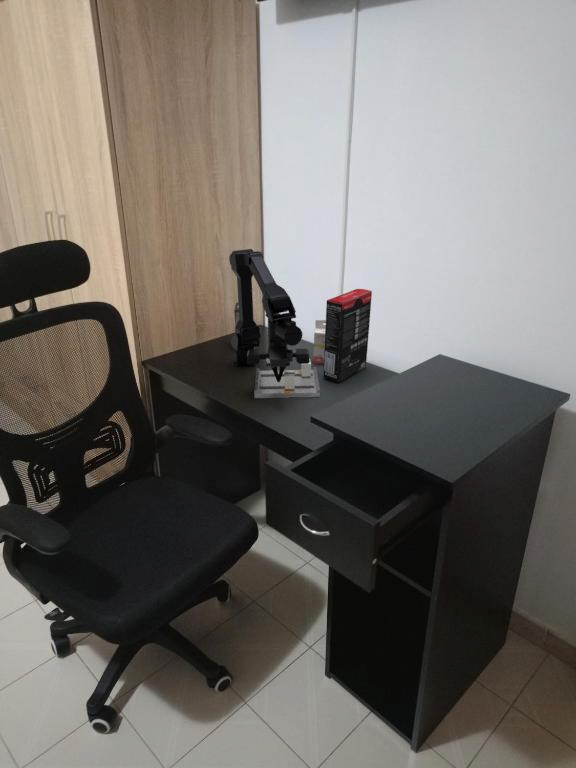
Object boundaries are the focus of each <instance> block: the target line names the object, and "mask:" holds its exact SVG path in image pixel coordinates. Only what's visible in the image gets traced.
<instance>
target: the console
mask: <svg viewBox="0 0 576 768" xmlns="http://www.w3.org/2000/svg"><path fill="white" fill-rule="evenodd" d="M312 368H313V369H311V376H303V377H302V374H301V369H291V370H290V369H285V370H284V372H285V371H294V372H295V374H294V375H295V389H285V374H284V372H283V374H282V377H281V380H280V382H277V380H276V377H275V375H274V372H273V370H272V369H271V370H270V369H269V370H260V367H256V368H255V378H254V379H255V380H254V390H253V391H254V392H253V393H254V399H276V398H277V399H279V398H282V399H283V398H284V399H285V398H288V399H289V397H293V398H321V397H320V395H321V388H320V382H319V376H318V375H319V374H318V368H317V366H313V367H312ZM278 375H279V369H278Z"/></svg>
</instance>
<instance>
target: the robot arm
mask: <svg viewBox="0 0 576 768" xmlns="http://www.w3.org/2000/svg"><path fill="white" fill-rule="evenodd" d="M228 259H229V260H228V261H229V265H230V268H231V271H232V272H233V273H234V275H235V277H236V283H237V302H238V306H239V321H238V323H237V324H236V326H235V325H234V334H233V336H232V338H231V340H230V344H231V347H232V348H233V349H234V350H235V352H236V354H235V355H236V367H255V366H256V365H259V364H260V362H261V361H262V360H265V361H266V363H265V365H266V367H270V368H271V370H273V372H274V375H275V377H276V380H277V382H280V380H281V377H282V374H283V372H284V370H286V368H287V367H290V366H291V363H292V362H293V361H294V360H296V363H298V364H299V365H301V364H308V363H309V359H310V352H309V349H307V348H295V352H293V349H288V346H291V347H293V346H296V345H298V344H299V343H300V342H301V341H302V338H303V332H302V329H301V327H299V326H297V321H295V320H292V319H296V318H297V315H296V313H297V312H296V308H295V306H294V304H293V302H292V299H291V297H290V295H289V294H288V293H287V291H286V290H285V288H283V286H280V285H278V284H277V282H276V281H275V279H274V277H273V274H272V272H271V271H270V269H269V267H268V265H267V264H266V261H265V260H264V255H263V253H262V251H258V250H257V251H254V250H253V249H252V248H246V249H237V250H233V251H232V252H231V253H230V254H229V257H228ZM252 278H254V279H255V281H256V283H257V285H258V287H259V289H260V291H261V294H262V298H261V303H262V307H263V310H264V312H265V318H267V333H268V334H267V339H268V341H267V342H268V346H267V347H268V349H267V352H261V349H260V348H259V346H260V343H261V332H260V327H259V325H257V323H256V321H255V320H254V319H253V318H254V301H253V299H254V298H253V280H252ZM257 347H258V348H259V349H257ZM278 367H279V369H278ZM278 370H279V375H278Z"/></svg>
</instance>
